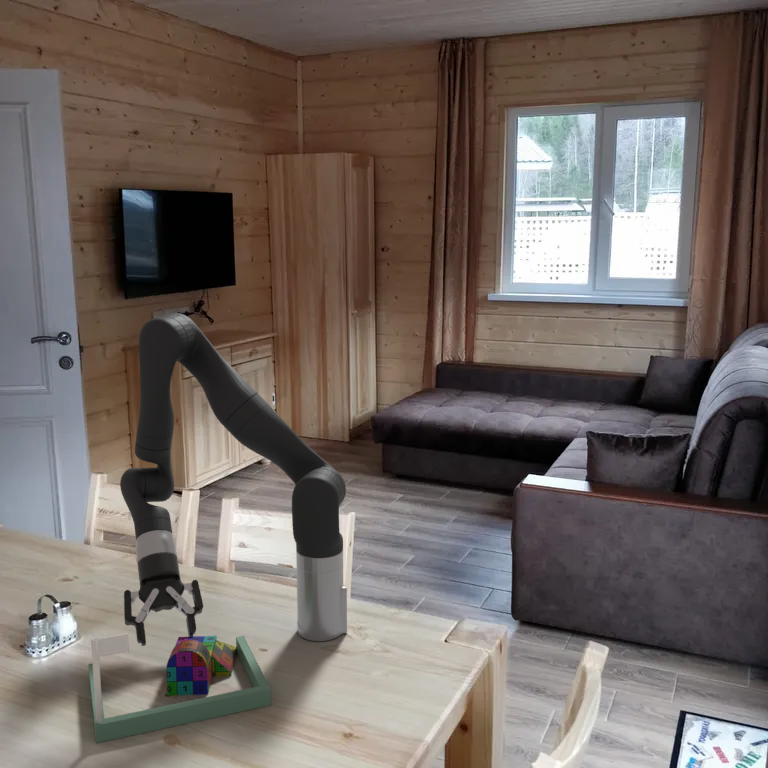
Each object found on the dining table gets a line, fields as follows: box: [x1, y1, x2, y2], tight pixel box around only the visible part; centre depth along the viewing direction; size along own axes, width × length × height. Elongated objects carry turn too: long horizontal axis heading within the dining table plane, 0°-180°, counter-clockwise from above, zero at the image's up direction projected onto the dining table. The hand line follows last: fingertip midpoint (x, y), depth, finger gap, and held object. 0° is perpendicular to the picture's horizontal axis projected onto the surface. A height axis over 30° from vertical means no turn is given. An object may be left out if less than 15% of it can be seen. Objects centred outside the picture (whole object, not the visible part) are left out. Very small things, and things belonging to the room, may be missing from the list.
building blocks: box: [165, 635, 237, 697], centre depth 148 cm, size 15×10×8 cm
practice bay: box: [88, 632, 272, 744], centre depth 141 cm, size 28×20×17 cm
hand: (167, 640), depth 151 cm, fingers open, 8 cm apart
